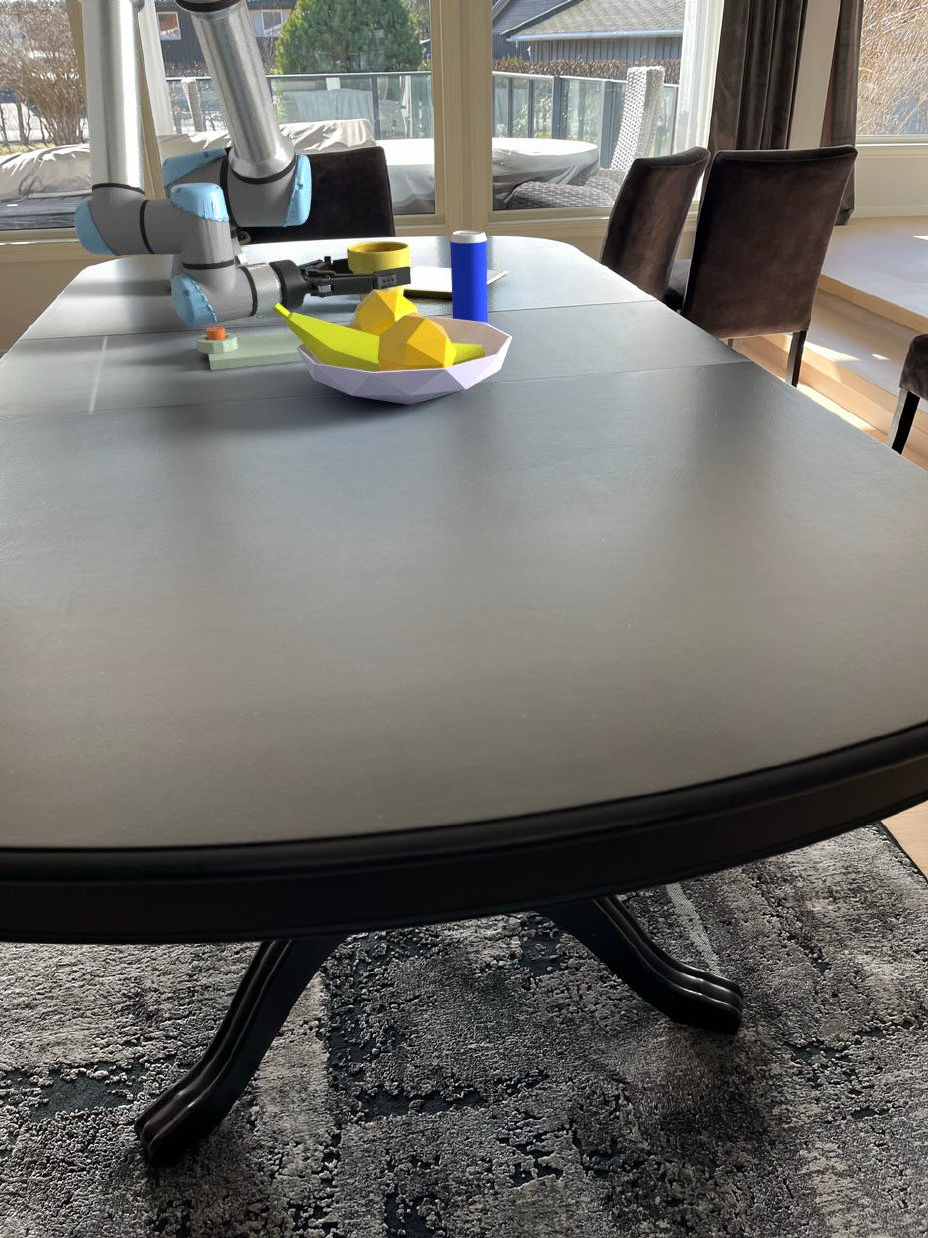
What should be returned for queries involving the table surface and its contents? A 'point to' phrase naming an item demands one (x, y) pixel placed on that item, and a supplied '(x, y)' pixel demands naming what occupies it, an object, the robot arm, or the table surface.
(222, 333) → the button
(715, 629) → the table surface
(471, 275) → the beverage can
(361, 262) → the flower pot
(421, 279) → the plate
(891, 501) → the table surface
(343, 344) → the fruit bowl
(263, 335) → the pale green flat block
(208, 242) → the robot arm
